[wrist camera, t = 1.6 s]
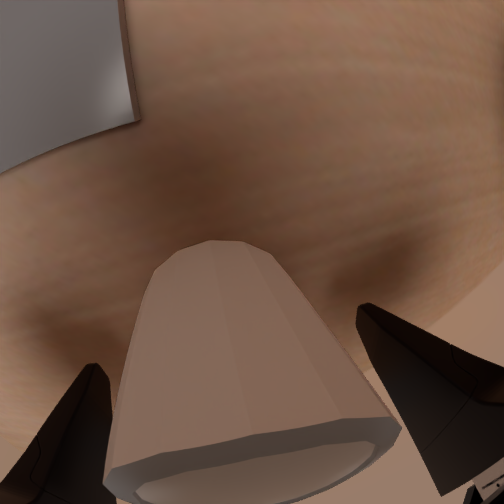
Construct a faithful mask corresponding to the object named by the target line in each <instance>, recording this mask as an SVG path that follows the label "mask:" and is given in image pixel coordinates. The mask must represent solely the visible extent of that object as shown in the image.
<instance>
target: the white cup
mask: <svg viewBox="0 0 504 504" xmlns="http://www.w3.org/2000/svg"><path fill="white" fill-rule="evenodd" d="M401 429H402V427H401V425H400V424H399V423H398V421H397V420H396V418H395V417H394V416H393V414H392V413H391V412H390V410H389V409H388V408H387V406H386V405H385V403H384V402H383V401H382V399H381V398H380V396H379V395H378V394H377V392H376V391H375V390H374V388H373V387H372V386H371V384H370V383H369V381H368V380H367V379H366V377H365V376H364V375H363V373H362V372H361V371H360V369H359V368H358V367H357V365H356V364H355V362H354V361H353V360H352V358H351V357H350V356H349V354H348V353H347V352H346V350H345V349H344V348H343V346H342V345H341V344H340V342H339V341H338V340H337V338H336V337H335V336H334V334H333V333H332V332H331V330H330V329H329V328H328V326H327V325H326V324H325V322H324V321H323V320H322V318H321V317H320V316H319V314H318V313H317V312H316V310H315V309H314V308H313V306H312V305H311V304H310V303H309V301H308V300H307V299H306V297H305V296H304V295H303V293H302V292H301V291H300V289H299V288H298V287H297V285H296V284H295V283H294V281H293V280H292V279H291V278H290V276H289V275H288V274H287V272H286V271H285V270H284V269H283V268H282V267H281V265H280V264H279V263H278V262H277V261H276V260H275V258H274V257H273V256H272V255H271V254H270V253H268V252H266V251H263V250H261V249H259V248H257V247H254V246H252V245H250V244H248V243H246V242H243V241H220V240H208V241H205V242H202V243H199V244H196V245H193V246H190V247H187V248H184V249H181V250H178V251H177V252H175V253H174V254H173V255H172V256H171V257H170V258H168V259H167V260H166V261H165V262H164V263H162V264H161V265H160V266H159V267H158V268H157V269H155V270H154V273H153V275H152V277H151V279H150V281H149V284H148V286H147V288H146V290H145V293H144V295H143V299H142V302H141V305H140V309H139V312H138V316H137V319H136V323H135V326H134V330H133V333H132V337H131V341H130V345H129V349H128V353H127V356H126V360H125V365H124V369H123V373H122V377H121V382H120V386H119V391H118V395H117V400H116V405H115V410H114V415H113V420H112V425H111V431H110V437H109V443H108V449H107V455H106V462H105V469H104V477H103V485H104V486H105V487H106V488H107V489H108V490H109V491H110V492H111V493H112V494H114V495H115V496H116V497H117V498H119V499H121V500H124V501H126V502H129V503H132V504H290V503H294V502H297V501H300V500H303V499H306V498H308V497H311V496H314V495H316V494H319V493H321V492H323V491H326V490H328V489H330V488H332V487H334V486H336V485H338V484H340V483H342V482H344V481H346V480H347V479H349V478H351V477H353V476H354V475H356V474H358V473H359V472H361V471H363V470H364V469H366V468H367V467H369V466H370V465H372V464H373V463H374V462H375V461H376V460H378V459H379V458H380V457H381V456H382V455H383V454H384V453H386V452H387V451H388V450H389V449H390V448H391V447H392V446H393V445H394V443H395V441H396V439H397V437H398V435H399V433H400V431H401Z"/></svg>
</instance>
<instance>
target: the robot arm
mask: <svg viewBox="0 0 504 504" xmlns="http://www.w3.org/2000/svg"><path fill="white" fill-rule="evenodd" d="M356 328H357V331H358V333H359V335H360V338H361V340H362V342H363V345H364V347H365V349H366V352H367V354H368V356H369V359H370V361H371V363H372V365H373V367H374V369H375V371H376V372H377V374H378V376H379V378H380V380H381V381H382V383H383V385H384V386H385V388H386V390H387V392H388V394H389V396H390V398H391V399H392V401H393V403H394V405H395V407H396V409H397V410H398V412H399V414H400V416H401V418H402V420H403V422H404V423H405V425H406V427H407V429H408V431H409V433H410V435H411V437H412V439H413V441H414V443H415V445H416V447H417V449H418V451H419V453H420V454H421V457H422V459H423V461H424V463H425V465H426V467H427V469H428V471H429V473H430V475H431V477H432V479H433V481H434V483H435V486H436V488H437V490H438V492H439V494H440V496H441V497H442V496H444V495H445V494H447V493H449V492H451V491H453V490H455V489H456V488H458V487H460V486H461V485H463V484H465V483H466V482H468V481H470V480H471V479H472V480H473V482H474V484H473V485H472V486H471V487H470V488H468V489H467V493H466V496H465V499H464V502H463V504H504V367H502V366H500V365H497V364H495V363H492V362H489V361H487V360H484V359H482V358H480V357H477V356H475V355H472V354H470V353H468V352H466V351H464V350H462V349H460V348H458V347H456V346H454V345H452V344H451V345H450V343H448V342H446V341H444V340H442V339H440V338H438V337H436V336H434V335H433V334H431V333H429V332H427V331H425V330H423V329H421V328H419V327H417V326H415V325H413V324H411V323H409V322H407V321H405V320H403V319H401V318H399V317H397V316H395V315H393V314H391V313H389V312H388V311H386V310H384V309H382V308H380V307H378V306H376V305H374V304H372V303H365V304H362V305H359V306H358V308H357V315H356ZM112 420H113V415H112V404H111V391H110V381H109V378H108V376H107V375H106V373H105V372H104V371H103V369H102V368H101V366H100V365H99V364H98V363H90V364H87V365H86V366H85V367H84V368H83V370H82V371H81V372H80V374H79V375H78V376H77V378H76V379H75V380H74V382H73V383H72V384H71V386H70V387H69V389H68V390H67V391H66V393H65V394H64V395H63V397H62V398H61V400H60V401H59V402H58V404H57V405H56V407H55V408H54V410H53V411H52V412H51V414H50V415H49V417H48V418H47V420H46V421H45V423H44V424H43V425H42V427H41V428H40V430H39V431H38V433H37V435H36V436H35V437H34V439H33V440H32V442H31V443H30V445H29V446H28V448H27V449H26V451H25V452H24V453H23V455H22V456H21V457H20V459H19V460H18V461H17V463H16V464H15V465H14V466H13V468H12V469H11V470H10V472H9V473H8V474H7V475H6V477H5V478H4V479H3V480H2V482H1V483H0V504H117V503H116V496H115V495H114V494H112V493H111V492H110V491H109V490H108V489H107V488H106V487H105V486H104V485H103V477H104V469H105V462H106V455H107V449H108V443H109V437H110V431H111V425H112Z"/></svg>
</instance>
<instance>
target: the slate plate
mask: <svg viewBox="0 0 504 504" xmlns="http://www.w3.org/2000/svg"><path fill="white" fill-rule="evenodd" d="M140 119H141V117H140V112H139V106H138V101H137V95H136V89H135V84H134V77H133V71H132V65H131V58H130V51H129V43H128V35H127V27H126V18H125V8H124V0H0V173H2V172H4V171H6V170H8V169H10V168H12V167H14V166H16V165H18V164H20V163H22V162H24V161H27V160H29V159H31V158H33V157H35V156H38V155H40V154H42V153H45V152H47V151H50V150H52V149H54V148H57V147H59V146H62V145H64V144H67V143H70V142H72V141H75V140H78V139H81V138H83V137H86V136H89V135H92V134H95V133H98V132H101V131H104V130H107V129H110V128H114V127H117V126H120V125H124V124H127V123H131V122H134V121H137V120H140Z"/></svg>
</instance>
